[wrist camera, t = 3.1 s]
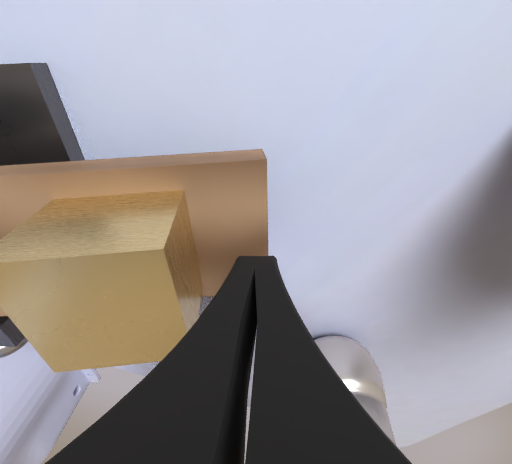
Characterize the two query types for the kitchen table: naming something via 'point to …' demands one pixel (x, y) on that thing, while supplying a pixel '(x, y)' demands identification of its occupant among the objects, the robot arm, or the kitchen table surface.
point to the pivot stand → (31, 140)
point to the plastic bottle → (358, 376)
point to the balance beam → (156, 180)
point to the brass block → (103, 279)
